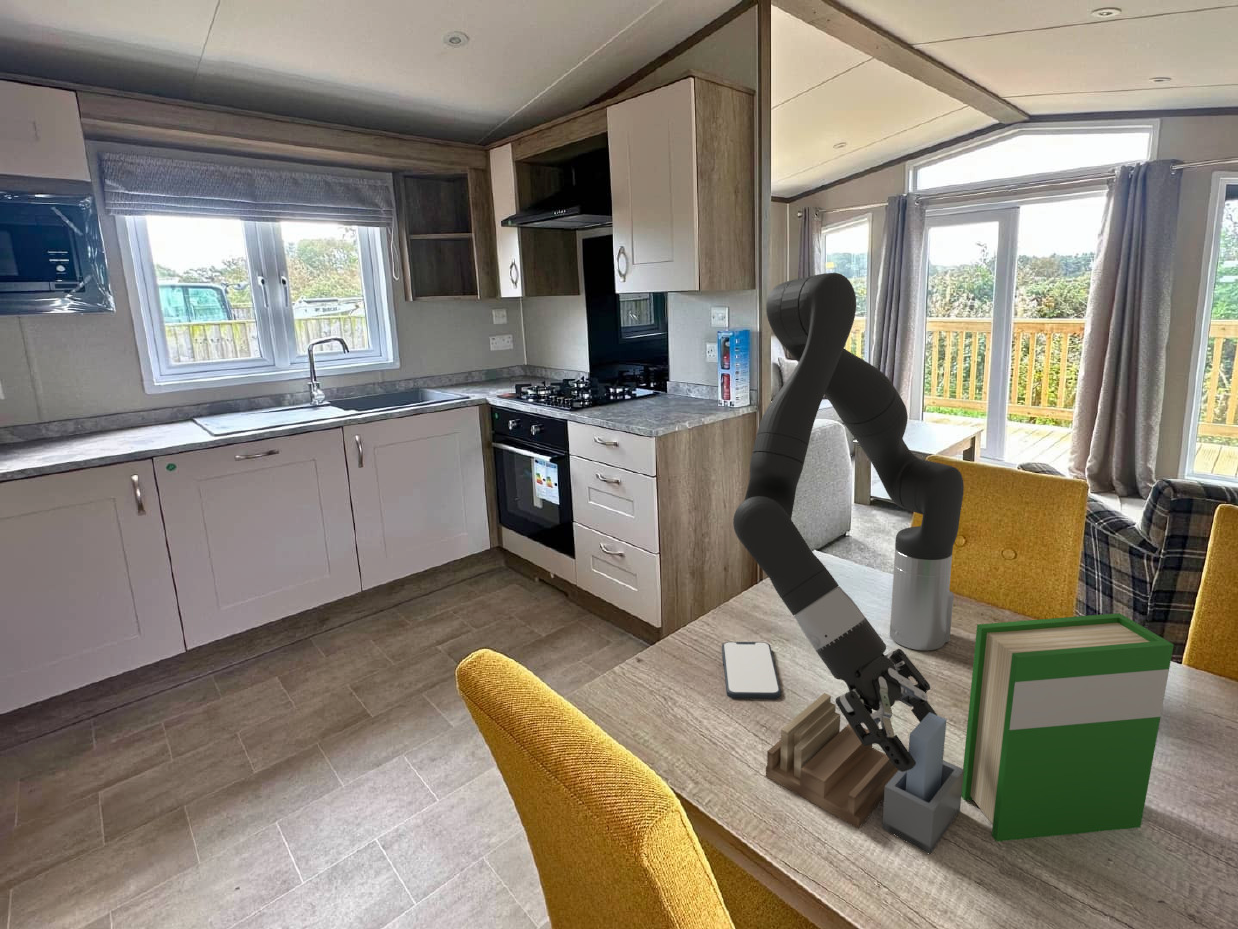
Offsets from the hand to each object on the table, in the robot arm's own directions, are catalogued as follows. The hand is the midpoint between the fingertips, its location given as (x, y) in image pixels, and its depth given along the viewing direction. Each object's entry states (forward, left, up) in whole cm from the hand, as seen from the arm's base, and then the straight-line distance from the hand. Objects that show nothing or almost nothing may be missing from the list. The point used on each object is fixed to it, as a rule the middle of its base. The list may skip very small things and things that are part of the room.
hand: (924, 750), depth 79 cm
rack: (+6, -10, -10) cm, 15 cm away
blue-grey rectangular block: (0, 0, -9) cm, 9 cm away
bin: (0, 0, -10) cm, 10 cm away
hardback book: (-15, +3, -10) cm, 19 cm away
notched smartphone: (+6, -36, -10) cm, 38 cm away
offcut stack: (+7, -13, -8) cm, 17 cm away
